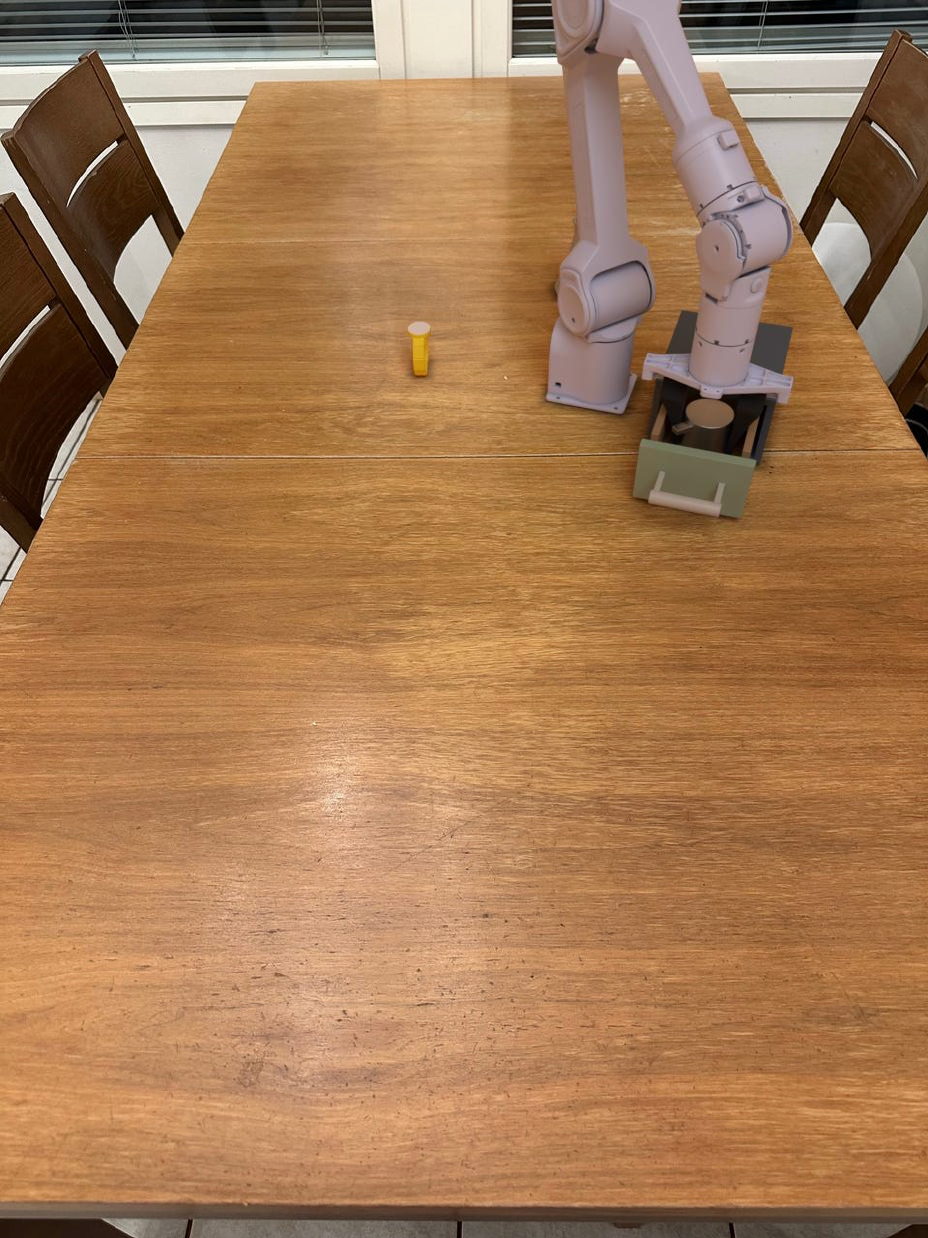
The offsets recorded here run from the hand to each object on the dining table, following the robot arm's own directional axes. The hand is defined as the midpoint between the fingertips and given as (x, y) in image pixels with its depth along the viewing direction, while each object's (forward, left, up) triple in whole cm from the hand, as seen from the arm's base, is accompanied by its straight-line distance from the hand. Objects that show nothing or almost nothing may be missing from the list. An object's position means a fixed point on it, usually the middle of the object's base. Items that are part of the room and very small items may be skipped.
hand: (702, 444), depth 101 cm
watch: (-36, +10, -4) cm, 37 cm away
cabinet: (0, +11, -4) cm, 11 cm away
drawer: (0, -2, -3) cm, 4 cm away
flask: (-22, +34, -4) cm, 40 cm away
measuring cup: (0, 0, -2) cm, 2 cm away
